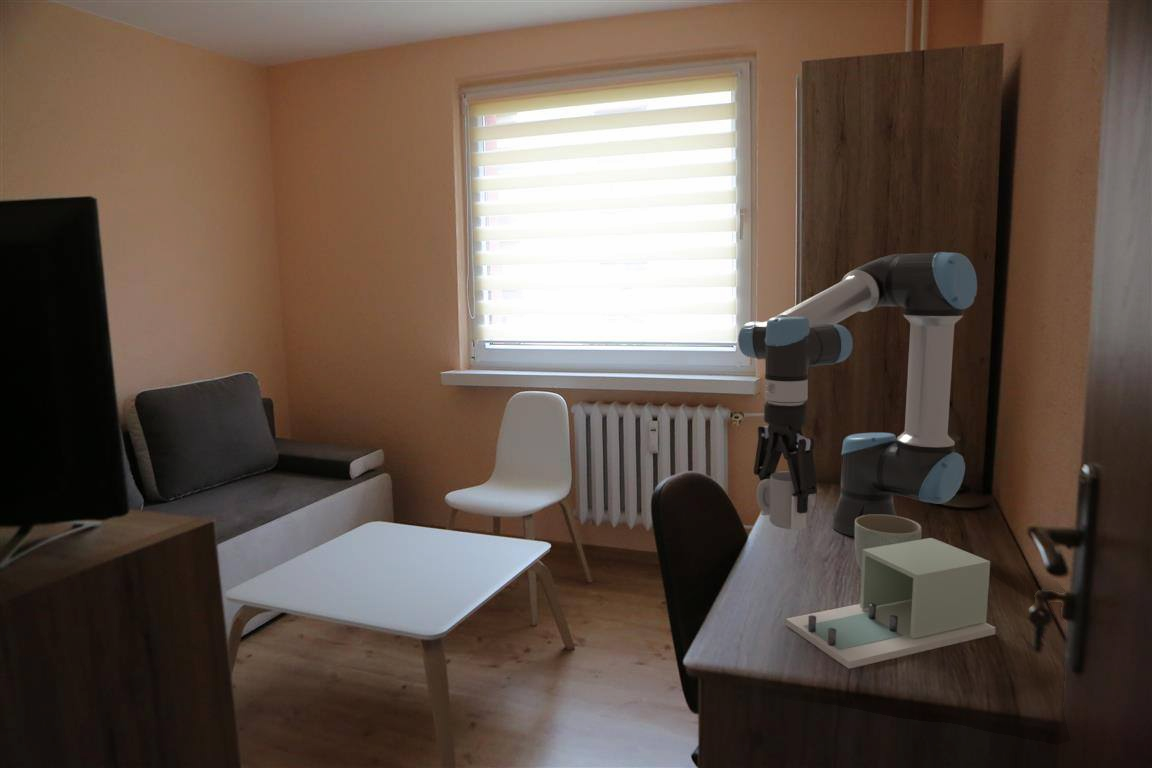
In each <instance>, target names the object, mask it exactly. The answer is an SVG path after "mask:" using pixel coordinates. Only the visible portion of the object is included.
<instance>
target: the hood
mask: <svg viewBox="0 0 1152 768" xmlns="http://www.w3.org/2000/svg"><path fill="white" fill-rule="evenodd" d="M860 570H861V569H860ZM990 570H991V561H990V560H989V559H985V558H983V557H980V556H979V555H975V554H973V553H970V552H968V551H965V550H963V549H961V548H958V547H955V546H953V545H951V544H948V543H946V542H943V541H940V540H939V539H935V538H934V537H933V538H932V537H928V538H921V540H915V541H909V542H903V543H897V544H892V545H886V546H880V547H874V548H868V549H862V570H861V571H860V573H861V574H860V575H861V577H860V597H859V598H860V599H859V604H860V608H862V609H866V608H869V604H870V603H873V604H876V606H881V605H886V604H891V603H896V602H901V601H906V600H911V599H912V611H911V630H910V636H911V637H912V638H918V637H922V636H926V635H931V634H935V633H940V632H944V631H948V630H953V629H957V628H962V627H966V626H970V625H975V624H979V623H984V622H985V623H987V616H988V615H987V613H988V600H989V585H990V584H989V583H990V573H991V571H990Z"/></svg>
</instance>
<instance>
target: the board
mask: <svg viewBox="0 0 1152 768" xmlns="http://www.w3.org/2000/svg"><path fill="white" fill-rule="evenodd" d="M868 611H869V608H866V609H862V608H860V603H858V604H853V605H847V606H842V607H837V608H833V609H828V610H823V611H822V610H821V611H817V612H813V613H807V614H803V615H797V616H793V617H787V618H785V626H786V627H787V628H789V629H790V630H792V631H793V632H795V633H796V634H797V635H799V636H801V637H802V638H803V639H805V640H806V641H808V642H809V643H811V644H812V645H813V646H816V648H818V649H819V650H821V651H822V652H824V653H825V654H827V656H829V657H831V658H832V659H834V660H835V661H837V662H838V663H840V664H841V665H843V666H844V667H845V668H847V669H854V668H859V667H863V666H866V665H871V664H875V663H876V664H877V663H880V662H883V661H887V660H888V661H889V660H892V659H897V658H900V657H901V658H902V657H905V656H909V655H913V654H918V653H922V652H925V651H931V650H934V649H939V648H942V647H947V646H951V645H955V644H960V643H964V642H968V641H972V640H977V639H981V638H986V637H989V636H994V635H996V626H994V625H993V626H992V624H990V623H987V622H984V623H979V624H975V625H970V626H966V627H962V628H957V629H953V630H948V631H944V632H940V633H935V634H931V635H926V636H922V637H918V638H912V637H911V636H910V630H911V611H912V599H911V600H906V601H901V602H896V603H891V604H886V605H881V606H876V619H869V618H868ZM810 615H813V616H816V631H815V632H813V633H811V632H809V631H808V621H809V616H810ZM890 615H895V616H897V617H898V623H897V632H892V631H890V630H889V626H890ZM829 628H834V629H836V645H834V646H830V645H828V629H829Z"/></svg>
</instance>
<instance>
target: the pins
mask: <svg viewBox="0 0 1152 768" xmlns="http://www.w3.org/2000/svg"><path fill="white" fill-rule="evenodd" d="M868 618H869V619H876V604H873V603H870V604H869V611H868ZM897 623H898V617H897V616H895V615H890V626H889V630H890V631H892V632H897ZM808 631H809V632H811V633H813V632H815V631H816V616H813V615H810V616H809V621H808ZM828 645H830V646H834V645H836V629H834V628H829V629H828Z"/></svg>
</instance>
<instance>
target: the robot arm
mask: <svg viewBox="0 0 1152 768" xmlns="http://www.w3.org/2000/svg"><path fill="white" fill-rule="evenodd" d="M975 270H976V269H975V268H974V266H973V264H972V263H971V260H970V259H969V258H968V257H967V256H965V255H964V254H962V253H959V252H944V251H939V252H921V253H918V252H916V253H895V254H889V255H886V256H883V257H882V256H881V257H879V258H877V259H875V260H872V261H869V262H867V263H865V264H863V265H861V266H859V267H856V268H855V269H853V270H851V271H849V272H847V273H846V274H844V276H843V277H842V279H841V280H840V282H838V283H836V284H834V285H832V286H831V287H828V288H827V289H825V290H823V291H821V292H819V293H817V294H815V295H813V296H811V297H810V298H808V299H805V300H804V301H802V302H800V303H798V304H796V305H795V306H793V307H791V308H788V309H787V310H785V311H783V312H781V313H780V314H777V315H776V316H774V317H770V318H769V319H768V320H766V321H761V320H756V321H748V322H746V323H745V324H744V325H742V327H741V328H740V331H739V333H738V336H737V338H738V339H737V341H738V348H739V350H740V352H741V353H742V354H743V355H744V356H746V357H748V358H752V359H753V358H754V359H757V360H764V361H765V368H764V369H765V374H764V378H765V379H764V381H765V382H764V399H765V400H766V402H765V403H764V407H763V408H764V410H763V420H764V422H765V423H766V424H767V425H760V426H758V427H757V434H758V435H757V437H758V439H757V445H756V453H755V458H754V459H755V460H754V466H753V474H754V475H755V476H758V479H759V481H760V482H761V481H762V480H764V479H770V475H771V474H772V473H776V472H777V471H776V470H777V468H778V465H779V462H780V459H781V457H782V456H783V458H784V460H786V461H787V466H788V467H787V468H788V470H789V471H788V472H790V475H791V479H792V483H793V487H794V491H795V493H793V494H792V503H791V529H790V530H791V531H793V532H794V531H801V530H805V529H806V528H807V526H806V513H807V511H808V496H809V495H810V496H811V495H816V494H817V493H818V488H817V487H818V486H817V477H816V466H815V458H814V446H815V440H814V438H813V437H810V438H807V437H805V436H804V434H803V431H802V427H803V425H805V424H806V423H807V422H808V421H807V420H808V419H807V415H808V409H807V408H808V406H807V404H806V403H805V402H806V401H807V400H808V396H809V395H808V393H809V392H808V390H809V389H808V383H809V380H808V379H809V378H808V377H809V376H808V374H809V372H808V371H809V368H810V367H818V366H819V367H820V366H827V365H829V366H832V365H835V364H837V363H842V362H844V361H846V360H847V358H849V357H850V355H851V354H852V350H853V345H854V344H853V336H852V334H851V332H850V331H849V330H848V328H847V327H845V326H843V325H840V324H838V323H840V322H841V321H844V320H846V319H847V318H850V317H851V316H852V315H854V314H856V313H858V312H860V313H861V312H862V313H865V312H869V311H870V310H873V309H875V308H879V307H899V308H902V307H903V317H904V318H905V319H906V320H907V321H908V322H909V324H910V325H909V347H908V364H907V383H906V384H907V385H906V397H905V398H906V401H905V403H906V404H905V420H904V421H905V422H904V431H903V432H902V433H901V434H900V435H897V437H896V434H894V433H891V432H863V433H862V432H861V433H853V434H849V435H848V436H846V437H845V438H844V439H843V442H842V449H841V453H840V454H841V471H840V473H841V474H840V475H841V476H840V494H839V499H838V501H837V504H836V507H835V510H834V512H833V514H832V517H831V528H832V529H833V530H835V531H836V532H838V533H840V534H842V535H846V536H848V537H849V536H850V537H854V538H855V519H856V518H858V517H860V516H863V515H871V514H884V515H893V516H898V515H897V510H896V508H895V503H894V495H898V496H902V497H906V498H910V499H914V500H918V501H920V502H922V503H923V502H924V503H931V504H936V505H937V504H938V505H940V504H945V503H947V502H949V501H950V500H952V498H953V497H954V496H955V495H956V494H957V492H958V491H959V489H960V488H961V486H962V483H963V480H964V477H965V471H966V463H965V460H964V456H962V455H961V453H960V454H959V453H958V452H955V446H956V445H955V444H956V443H955V440H953V439H952V437H951V436H949V434H948V433H949V432H948V430H949V417H950V416H949V415H950V403H951V402H950V401H951V400H950V398H951V383H952V382H951V381H952V367H953V352H954V351H953V350H954V339H955V334H954V333H955V324H956V323H958V321H960V320H961V318H963V317H964V310H965V309H968V308H970V307H971V306H972V305H973V304H974V302H975V299H976V296H977V294H978V293H977V292H978V281H977V280H978V279H977V274H976V271H975ZM800 487H801V489H800ZM765 501H766V503H767V505H770V487H767V488H766V490H765ZM760 512H761V513H760V515H762V516H763V517H764V516H770V514H769V513H766V512H764V511H762V510H761V509H760Z"/></svg>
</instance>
